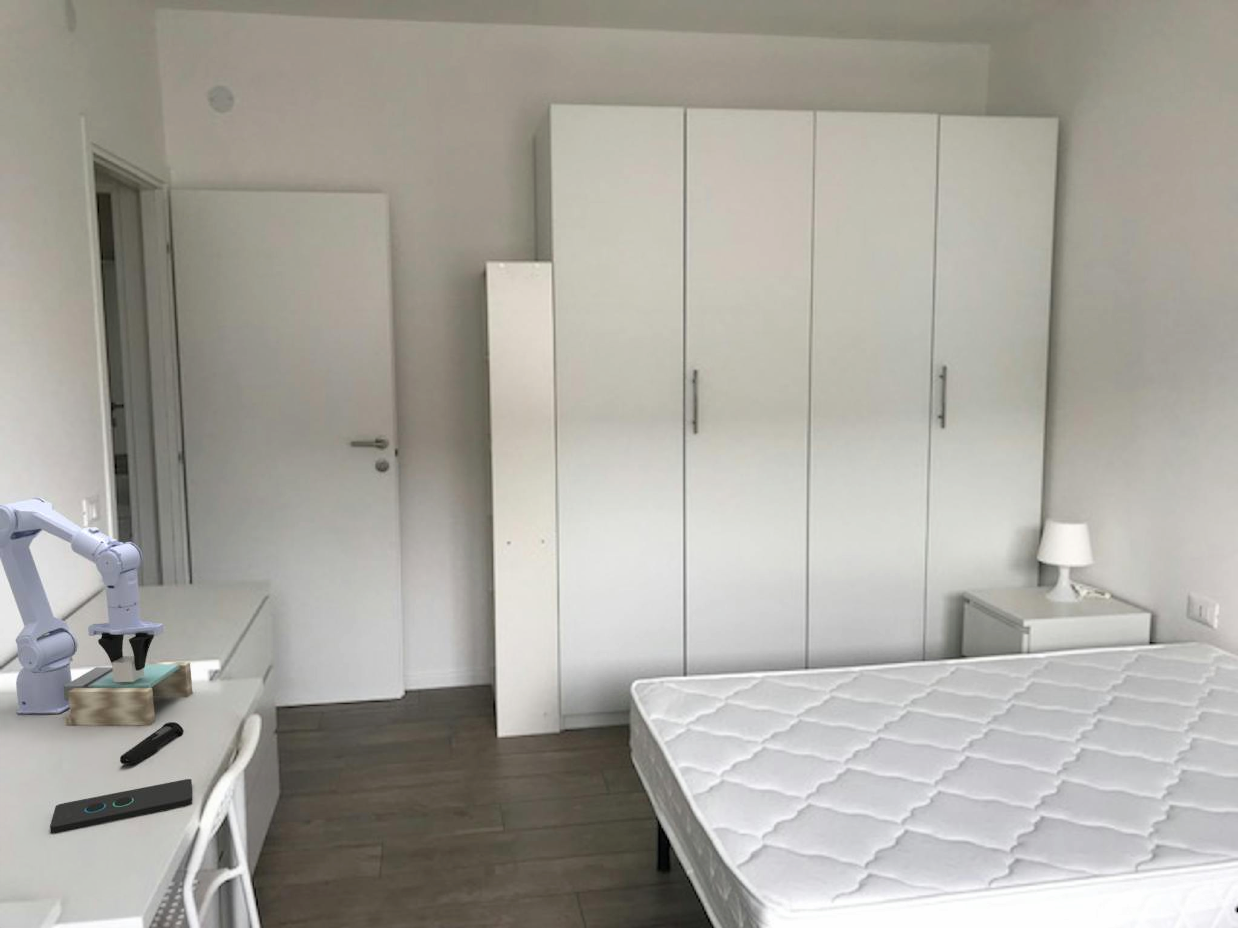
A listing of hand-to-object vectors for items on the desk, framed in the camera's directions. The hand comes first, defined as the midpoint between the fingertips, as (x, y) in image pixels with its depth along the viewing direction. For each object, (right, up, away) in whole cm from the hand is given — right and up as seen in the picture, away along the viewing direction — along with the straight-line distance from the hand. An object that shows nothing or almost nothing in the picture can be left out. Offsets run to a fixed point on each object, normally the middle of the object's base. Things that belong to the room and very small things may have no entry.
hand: (129, 668), depth 186 cm
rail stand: (-2, -9, +5) cm, 11 cm away
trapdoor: (-4, -5, +4) cm, 8 cm away
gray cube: (0, -2, 0) cm, 2 cm away
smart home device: (+19, -15, -37) cm, 44 cm away
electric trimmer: (+12, -12, -15) cm, 23 cm away
